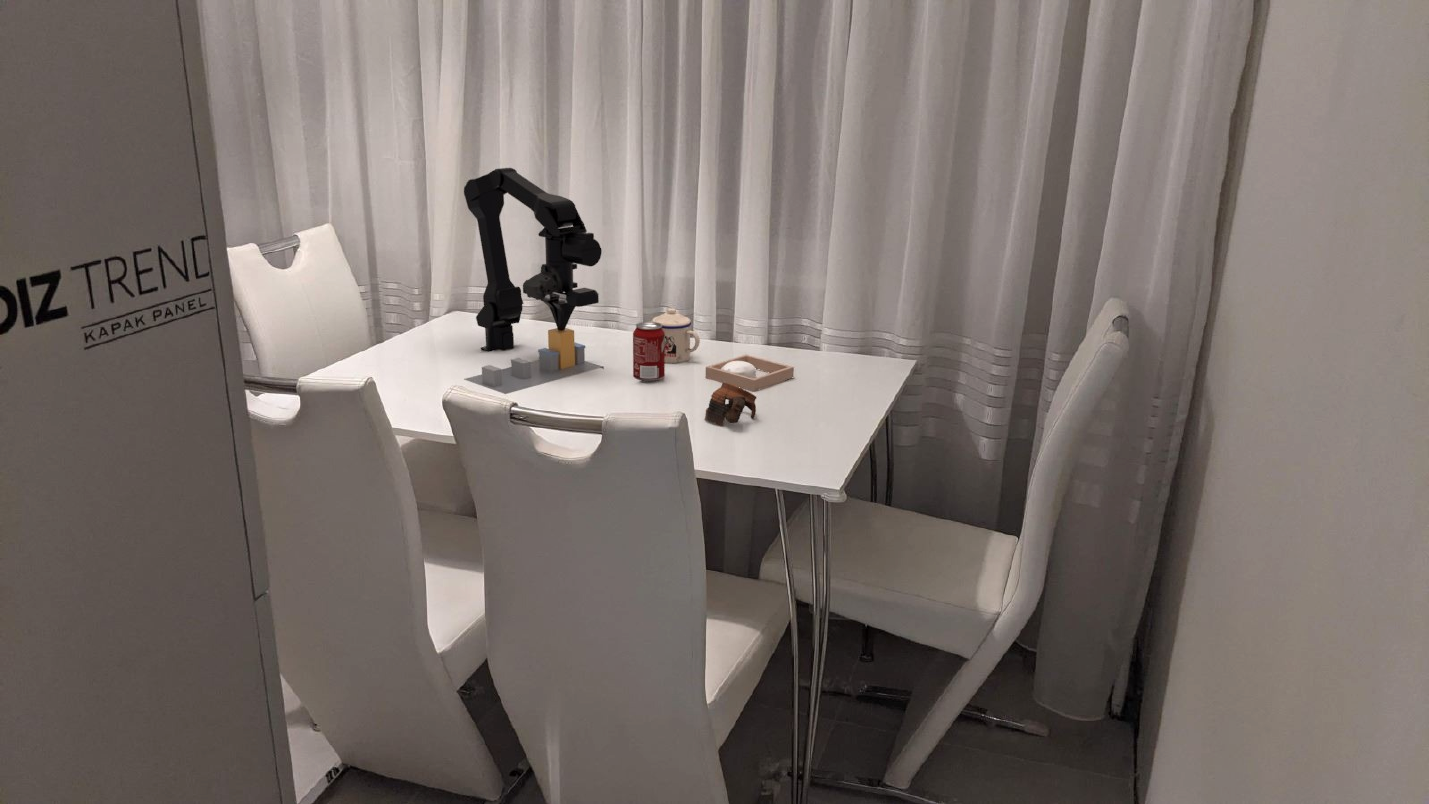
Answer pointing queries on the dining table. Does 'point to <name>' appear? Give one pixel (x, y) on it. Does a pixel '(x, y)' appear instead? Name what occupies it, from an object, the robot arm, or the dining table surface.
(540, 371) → the grey board with pegs
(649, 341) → the soda can
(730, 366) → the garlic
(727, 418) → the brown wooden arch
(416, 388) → the dining table surface
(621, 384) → the dining table surface
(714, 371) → the garlic dish
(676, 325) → the teacup with lid
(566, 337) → the orange rectangular block
